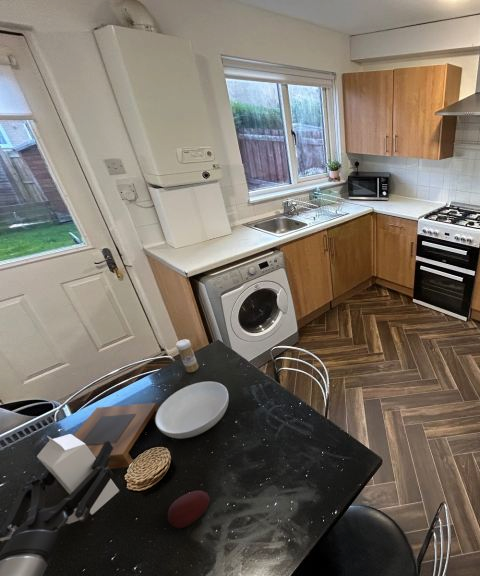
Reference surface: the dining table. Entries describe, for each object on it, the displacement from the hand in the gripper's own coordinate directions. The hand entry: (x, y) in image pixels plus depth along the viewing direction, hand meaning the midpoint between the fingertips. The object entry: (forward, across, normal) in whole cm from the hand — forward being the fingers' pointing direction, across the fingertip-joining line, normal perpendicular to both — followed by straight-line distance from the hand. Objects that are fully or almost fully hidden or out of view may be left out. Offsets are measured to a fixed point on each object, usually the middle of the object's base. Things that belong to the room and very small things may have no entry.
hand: (86, 449), depth 74 cm
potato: (-11, +20, -19) cm, 30 cm away
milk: (-5, 0, -12) cm, 13 cm away
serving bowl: (+20, +16, -19) cm, 32 cm away
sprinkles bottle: (+47, +8, -19) cm, 51 cm away
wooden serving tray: (+18, -7, -19) cm, 27 cm away
